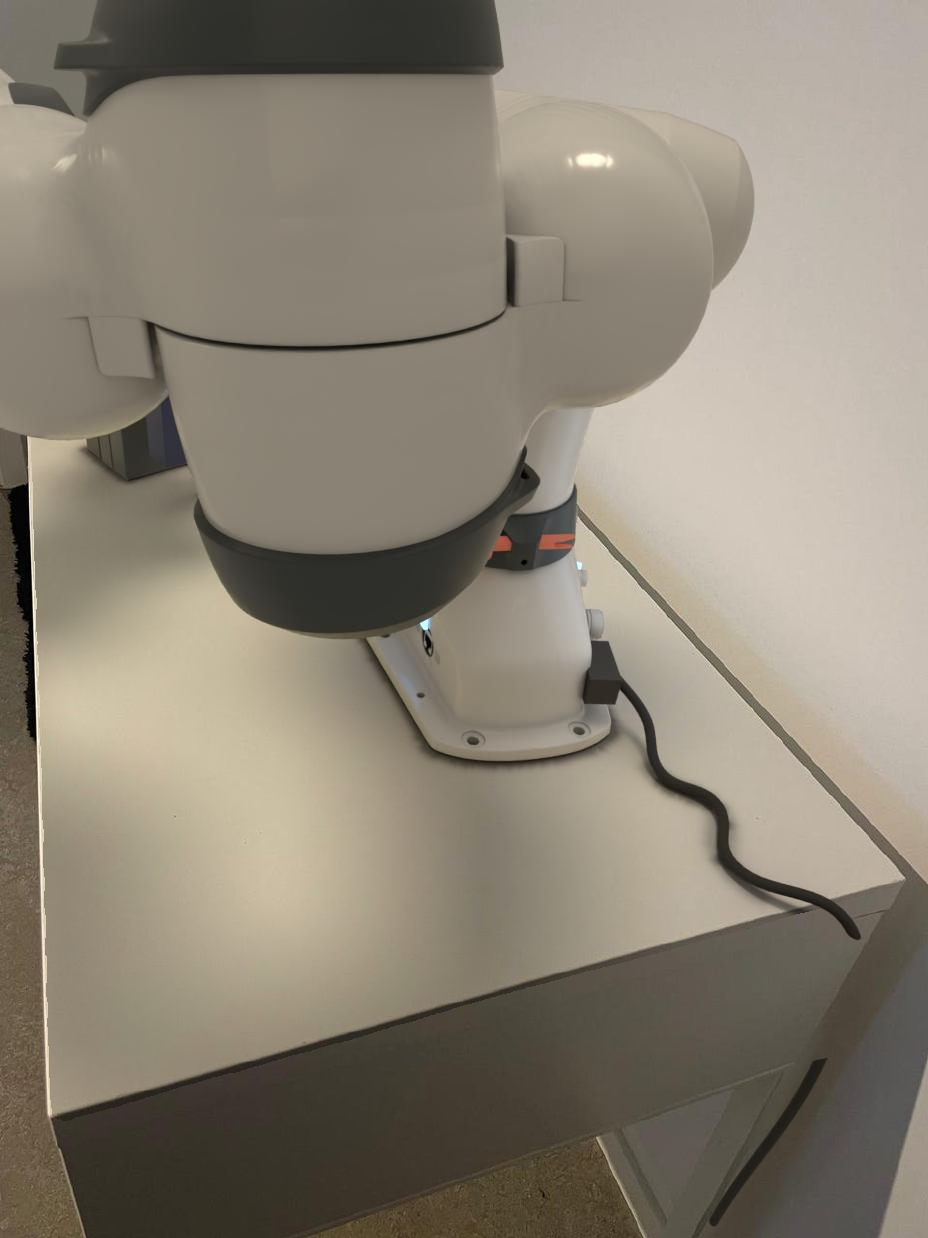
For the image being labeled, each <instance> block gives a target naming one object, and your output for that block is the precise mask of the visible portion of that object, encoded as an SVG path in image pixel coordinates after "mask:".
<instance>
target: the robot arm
mask: <svg viewBox="0 0 928 1238" xmlns="http://www.w3.org/2000/svg"><path fill="white" fill-rule="evenodd" d="M498 19H499V17H498V13H497V8H496V1H495V0H96V3H95V8H94V11H93V15H92V19H91V23H90V24H91V25H90V29H89V33H88V35H87V36H86V37H85V38H84V39H82V40H78V41H62V42H58V43H57V47H56V51H55V57H54V62H53V65H52V69H53V70H55V71H59V72H60V71H61V72H62V71H63V72H65V71H66V72H80V73H82V74H83V76H84V77H85V91H84V98H83V99H84V100H83V107H82V113H81V115H82V116H84V117H86V118H87V122H86V121H84V120H82V119H81V118H78V116H76V115H75V114H74V113H73V110H71V108H70V106H69V105H68V103H67V102H66V101H65V99H64V98H63V96H62V95H61V94H60V93H59V92H58V91H57V90H56V89H55V88H54V87H52V86H45V85H40V84H35V83H28V82H19V81H18V82H17V81H15V80H14V79H13V78H12V77H11V76H10V75H8V74H7V73H6V72H5V70H3V69H1V68H0V429H3V430H5V431H7V432H11V433H14V434H18V435H22V436H25V437H29V438H34V439H35V438H36V439H42V440H48V441H77V440H78V441H79V440H86V439H89V438H94V437H98V436H103V435H107V434H110V433H112V432H115V431H118V430H120V429H123V428H126V427H128V426H129V425H131V424H133V423H135V422H137V421H139V420H140V419H142V418H143V417H145V416H146V415H147V414H149V413H150V412H151V411H153V410H154V409H156V408H157V407H158V406H159V405H160V404H161V403H162V402H163V401H164V400H165V399H166V398H167V397H168V396H169V398H170V402H171V406H172V411H173V415H174V419H175V423H176V426H177V430H178V433H179V437H180V440H181V444H182V447H183V451H184V454H185V458H186V461H187V464H186V465H187V468H188V471H189V474H190V477H191V479H192V482H193V483H192V484H193V485H194V489H195V491H196V494H197V499H196V500H195V502H194V505H193V510H192V511H193V520H194V522H195V524H196V528H197V531H198V533H199V536H200V539H201V541H202V544H203V546H204V550H205V551H206V554H207V556H208V558H209V560H210V562H211V565H212V567H213V570H214V571H215V573H216V575H217V577H218V579H219V581H220V583H221V584H222V586H223V588H224V589H225V591H226V592H227V594H228V595H229V597H230V598H231V600H232V601H233V603H234V604H235V605H236V606H237V607H238V608H239V609H240V610H242V611H243V612H244V613H245V614H247V615H249V616H250V617H252V618H253V619H256V620H257V621H260V622H261V623H265V624H267V625H269V626H272V627H275V628H279V629H282V630H283V631H287V632H289V633H293V634H296V635H300V636H305V637H309V638H316V639H325V640H326V639H327V640H355V639H356V640H357V639H366V641H367V643H368V644H369V646H370V648H371V650H372V651H373V653H374V655H375V656H376V658H377V659H378V662H379V664H381V666H382V668H383V670H384V671H385V674H387V677H388V678H389V680H390V682H391V683H392V685H393V687H394V689H395V690H396V692H397V693H398V695H399V697H400V698H401V700H402V702H403V703H404V705H405V707H406V709H407V710H408V712H409V714H410V715H411V717H412V719H413V720H414V722H415V724H416V725H417V727H418V729H419V731H420V732H421V734H422V736H423V737H424V739H425V741H426V742H427V744H428V745H429V746H430V747H431V748H432V749H433V750H435V751H437V752H439V753H443V754H446V755H448V756H452V757H455V758H461V759H467V760H476V761H486V762H487V761H488V762H515V761H528V760H539V759H544V758H553V757H558V756H563V755H569V754H572V753H575V752H579V751H582V750H585V749H587V748H589V747H591V746H593V745H595V744H597V743H599V742H601V741H602V740H603V739H604V738H606V737H607V736H608V735H609V734H610V732H611V726H612V717H611V715H610V711H609V705H611V706H614V705H616V703H617V701H618V697H619V694H620V692H621V693H622V694H623V695H624V696H625V698H626V699H627V701H629V703H630V704H631V705H632V707H633V709H635V711H636V713H637V715H638V716H639V719H640V721H641V723H642V726H643V730H644V736H645V746H646V753H647V759H648V762H649V764H650V767H651V768H652V771H653V772H654V773H655V775H656V777H658V778H659V779H660V781H662V782H663V783H665V785H667V786H669V787H670V788H673V789H674V790H677V791H679V792H683V793H684V794H685V793H686V794H688V795H691V796H694V797H697V798H699V799H701V800H703V801H704V802H706V803H707V804H708V805H709V806H710V807H711V808H712V809H713V811H714V813H715V814H716V817H717V835H716V836H717V841H716V842H717V848H718V852H719V856H720V858H721V861H722V862H723V863H724V864H725V865H726V867H727V868H728V869H729V870H730V871H731V872H732V873H733V874H734V875H736V877H738V879H741V880H743V881H744V882H746V883H747V884H749V885H752V886H753V887H756V889H757V888H758V889H761V890H764V891H766V892H768V893H772V894H776V895H778V896H783V897H786V898H791V899H794V900H798V901H801V902H803V903H808V904H811V905H813V906H816V907H817V908H820V909H822V910H824V911H826V912H827V913H829V915H832V916H833V917H834V919H836V920H837V922H839V924H840V925H841V927H842V928H843V930H844V931H845V933H846V934H847V936H848V937H849V938H851V939H853V940H855V941H860V940H861V939H862V935H861V933H860V930H859V928H858V926H857V925H856V923H855V921H854V920H853V918H852V917H851V916H850V915H849V914H848V913H847V911H845V909H844V908H843V907H841V906H840V905H838V904H837V903H836V902H835V901H833V900H832V899H829V897H826V896H824V895H823V894H819V893H818V892H814V891H812V890H808V889H805V888H803V887H802V888H801V887H798V886H795V885H791V884H788V883H787V884H786V883H783V882H779V881H775V880H772V879H769V878H767V877H764V876H762V875H759V874H757V873H755V872H753V871H751V869H748V868H747V867H745V866H744V865H743V864H742V863H740V862H739V860H737V858H736V857H735V856H734V854H733V852H732V850H731V848H730V841H729V839H730V837H729V836H730V819H729V813H728V811H727V808H726V807H725V805H724V803H723V802H722V800H721V799H720V798H719V797H718V796H717V795H716V794H715V793H713V792H712V791H710V790H708V789H706V788H704V787H702V786H700V785H697V784H693V783H690V782H688V781H685V780H681V779H679V778H677V777H676V776H674V775H672V774H671V773H670V772H669V771H667V769H666V768H665V766H663V763H662V762H661V758H660V756H659V753H658V744H657V736H656V729H655V724H654V721H653V719H652V716H651V714H650V712H649V711H648V708H647V706H646V705H645V704H644V702H643V701H642V699H641V698H640V696H639V695H638V694H637V693H636V692H635V691H634V689H633V688H632V687H631V685H630V684H629V683H628V682H627V681H626V680H625V678H623V676H622V675H621V673H620V669H619V667H618V664H617V661H616V659H615V655H614V653H613V650H612V647H611V644H610V641H608V640H599V639H601V638H602V637H603V634H604V629H605V616H604V613H603V611H602V610H600V609H597V608H596V609H595V608H586V604H585V599H584V593H583V588H585V587H586V586H587V585H588V580H589V575H588V571H587V570H586V569H583V568H582V565H583V563H582V562H579V561H578V560H577V554H576V550H575V543H576V533H577V531H576V530H577V523H578V516H579V515H578V514H579V508H578V488H577V485H576V483H575V481H576V477H577V473H578V469H579V464H580V461H581V455H582V453H583V448H584V444H585V441H586V437H587V433H588V430H589V428H590V427H589V426H590V424H591V421H592V417H593V415H594V412H595V408H601V407H605V406H609V405H613V404H616V403H619V402H621V401H624V400H626V399H628V398H632V397H633V396H635V395H637V394H639V393H640V392H642V391H644V390H645V389H647V388H649V387H651V386H652V385H654V383H656V381H658V380H660V379H661V378H662V377H663V376H665V374H667V372H668V371H670V369H672V367H674V366H675V364H677V362H678V361H679V360H680V358H681V357H682V355H684V354H685V352H686V351H687V349H688V348H689V346H690V344H691V342H692V341H693V339H695V336H696V334H697V333H698V331H699V329H700V326H701V324H702V321H703V319H704V317H705V315H706V312H707V308H708V304H709V301H710V297H711V293H712V292H713V290H715V289H716V288H717V287H719V285H720V284H721V283H722V282H723V281H724V280H725V279H726V278H727V276H729V274H730V273H731V271H733V268H734V267H735V266H736V265H737V263H738V261H739V259H740V258H741V255H742V254H743V252H744V249H745V247H746V245H747V242H748V240H749V237H750V233H751V230H752V227H753V220H754V215H755V214H754V213H755V188H754V187H755V186H754V181H753V175H752V172H751V168H750V165H749V163H748V159H747V158H746V155H745V154H744V150H743V149H742V147H741V146H740V144H739V142H738V141H737V140H736V139H735V138H733V137H731V136H728V135H726V134H724V133H722V132H719V131H716V130H714V129H712V128H710V127H707V126H705V125H702V124H701V123H698V122H694V121H692V120H689V119H686V118H683V117H680V116H678V115H674V114H672V113H669V112H666V111H659V110H653V109H645V108H639V107H638V108H637V107H631V106H623V105H617V104H609V103H604V102H594V101H588V100H580V99H573V98H567V97H566V98H565V97H560V96H559V97H558V96H552V95H546V94H545V95H544V94H537V93H530V92H523V91H515V90H509V89H502V88H496V87H494V85H495V84H494V77H493V76H495V75H497V74H498V73H500V71H502V70H503V69H504V68H505V64H504V55H503V49H502V39H501V31H500V24H499V20H498ZM828 1058H829V1057H824V1058H820V1059H816V1060H812V1061H811V1063H810V1066H809V1068H808V1070H807V1072H806V1074H805V1075H804V1077H803V1079H802V1080H801V1083H800V1084H799V1087H798V1089H797V1090H796V1091H795V1093H794V1095H793V1096H792V1098H791V1099H790V1101H789V1103H788V1104H787V1106H786V1107H785V1109H784V1111H782V1113H781V1115H780V1116H779V1117H778V1119H777V1121H775V1124H774V1125H773V1126H772V1128H771V1129H770V1130H769V1132H768V1133H767V1134H766V1136H765V1137H764V1139H763V1140H762V1142H761V1143H760V1144H759V1145H758V1147H757V1148H756V1150H755V1151H754V1153H753V1154H752V1155H751V1157H749V1158H748V1161H747V1162H746V1163H745V1164H744V1166H743V1167H742V1169H741V1170H740V1171H739V1173H738V1174H737V1175H736V1177H735V1178H734V1179H733V1181H732V1182H731V1183H730V1185H729V1187H728V1188H727V1190H726V1191H725V1193H724V1194H723V1196H722V1197H721V1199H720V1200H719V1202H718V1203H717V1205H716V1206H715V1208H714V1210H713V1212H712V1214H711V1215H710V1217H709V1219H708V1222H709V1225H710V1226H711V1227H717V1226H718V1225H719V1223H720V1221H721V1220H722V1218H723V1217H724V1215H725V1213H726V1212H727V1210H728V1208H729V1207H730V1206H731V1205H732V1203H733V1201H734V1199H736V1197H737V1196H738V1194H739V1193H740V1191H741V1190H742V1188H743V1187H744V1186H745V1185H746V1183H747V1182H748V1180H750V1178H751V1176H752V1175H753V1174H754V1172H755V1171H756V1170H757V1168H758V1167H759V1166H760V1165H761V1163H762V1162H763V1161H764V1160H765V1158H766V1157H767V1156H768V1154H769V1153H770V1152H771V1150H772V1149H773V1147H774V1146H775V1145H776V1144H777V1142H778V1141H779V1139H780V1138H781V1137H782V1136H783V1134H784V1133H785V1131H786V1130H787V1129H788V1127H789V1126H790V1124H791V1123H792V1122H793V1120H794V1119H795V1117H796V1116H797V1114H798V1112H799V1111H800V1110H801V1108H802V1106H803V1105H804V1104H805V1102H806V1100H807V1098H808V1097H809V1095H810V1093H811V1092H812V1090H813V1088H814V1087H815V1085H816V1083H817V1081H818V1079H819V1077H820V1076H821V1073H822V1072H823V1069H824V1067H825V1065H826V1063H827V1061H828V1060H829V1059H828Z"/></svg>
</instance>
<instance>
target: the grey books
mask: <svg viewBox="0 0 928 1238" xmlns="http://www.w3.org/2000/svg"><path fill="white" fill-rule="evenodd" d="M85 440H86V449H87V450H88V451H89V452H90V453H91V454H93V455H94V456H96V458H98V459H99V460H100V461H102V463H104V464H105V465H107V466H108V467H109V468H111V469H112V470H113V471H114V472H115V473H117V475H120V476H121V477H122V478H123V479H125V480H126V481H130V480H133V479H138V478H141V477H145V476H149V475H151V474H156V473H158V472H159V473H160V472H163V471H166V470H170V469H174V468H177V467H180V466H185V465H188V464H187V463H184V464H180V465H176V466H172V467H169V468H166V467H165V466H163V465H162V464H161V463H159V462H158V461H156V460H155V459H154V458H152V457H151V456H150V454H149V444H148V433H147V423H146V416H145V417H143V418H142V419H140V420H139V421H137V422H135V423H133V424H131V425H129V426H128V427H126V428H123V429H120V430H118V431H115V432H112V433H110V434H107V435H103V436H98V437H94V438H89V439H85Z"/></svg>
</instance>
